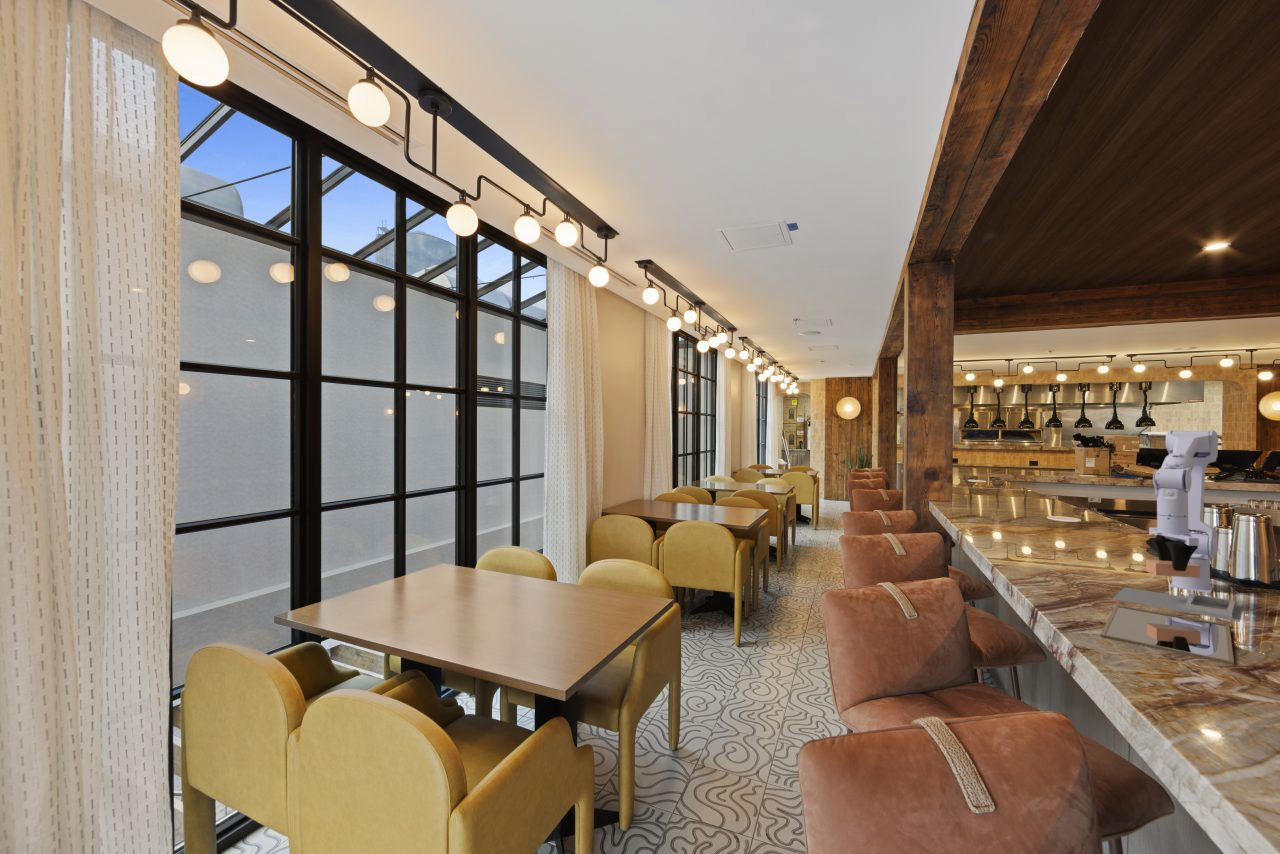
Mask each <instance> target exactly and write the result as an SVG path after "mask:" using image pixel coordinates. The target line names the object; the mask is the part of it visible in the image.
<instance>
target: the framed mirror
mask: <svg viewBox="0 0 1280 854" xmlns="http://www.w3.org/2000/svg"><path fill="white" fill-rule="evenodd" d="M1230 628H1231V627H1230V624H1227V623H1221V622H1215V621H1212V620H1211V621H1209V620H1205V619H1199V618H1192V617H1188V616H1187V617H1186V616H1182V615H1176V614H1171V613H1164V612H1159V611H1152V610H1148V609H1147V610H1146V609H1141V608H1135V607H1129V606H1124V605H1119V604H1115V605H1114V607H1113V609H1112V611H1111V613H1110V615H1109V617H1108V619H1107V621H1106V622H1105V625H1104V627H1103V629H1102V631H1101V632H1100V638H1102V637H1103V639H1108V640H1114V641H1118V642H1121V641H1122V642H1123V643H1126V642H1128V643H1127V644H1131V643H1132V644H1131V645H1135V644H1137V646H1140V645H1142V646H1141V647H1145V646H1146V648H1150V647H1151V648H1150V649H1156V650H1161V651H1164V650H1165V652H1169V651H1170V653H1174V654H1179V655H1185V656H1189V657H1193V658H1197V657H1199V658H1198V659H1202V658H1204V659H1203V660H1207V659H1208V661H1212V660H1213V662H1216V661H1218V662H1217V663H1221V662H1222V664H1227V665H1231V664H1232V666H1235V661H1234V660H1235V659H1234V652H1233V643H1232V636H1231V629H1230Z"/></svg>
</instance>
